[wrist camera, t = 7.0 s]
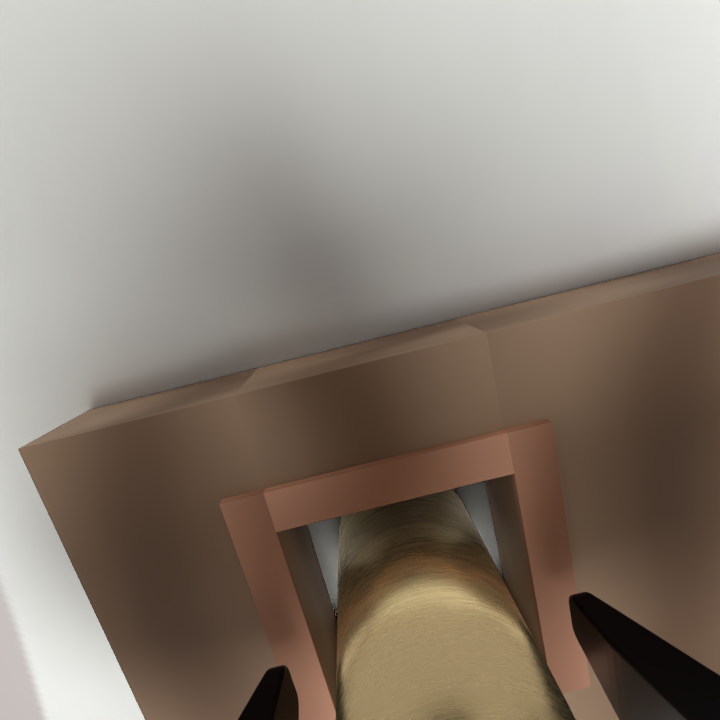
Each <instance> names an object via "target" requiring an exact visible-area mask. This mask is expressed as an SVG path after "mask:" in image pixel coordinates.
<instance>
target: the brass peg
mask: <svg viewBox="0 0 720 720" xmlns="http://www.w3.org/2000/svg"><path fill="white" fill-rule="evenodd" d="M336 720H576V719H575V717H574V715H573V713H572V711H571V709H570V707H569V705H568V703H567V701H566V699H565V698H564V696H563V694H562V692H561V690H560V688H559V686H558V684H557V682H556V680H555V678H554V676H553V675H552V673H551V671H550V669H549V667H548V665H547V663H546V661H545V659H544V657H543V655H542V653H541V652H540V650H539V648H538V646H537V644H536V642H535V640H534V638H533V636H532V634H531V632H530V630H529V629H528V627H527V625H526V623H525V621H524V619H523V617H522V615H521V613H520V611H519V609H518V608H517V606H516V604H515V602H514V600H513V598H512V596H511V594H510V592H509V590H508V588H507V586H506V585H505V583H504V581H503V579H502V577H501V575H500V573H499V571H498V569H497V567H496V565H495V563H494V562H493V560H492V558H491V556H490V554H489V552H488V550H487V548H486V546H485V544H484V542H483V540H482V539H481V537H480V535H479V533H478V531H477V529H476V527H475V525H474V523H473V521H472V519H471V517H470V516H469V514H468V512H467V510H466V508H465V506H464V504H463V502H462V501H461V499H460V498H459V496H458V495H457V494H456V493H455V491H454V490H453V489H450V490H446V491H442V492H437V493H433V494H429V495H425V496H421V497H417V498H413V499H409V500H405V501H401V502H397V503H393V504H389V505H385V506H381V507H377V508H373V509H368V510H364V511H360V512H356V513H352V514H348V515H344V516H341V520H340V524H339V541H338V607H337V672H336Z"/></svg>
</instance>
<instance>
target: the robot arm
mask: <svg viewBox="0 0 720 720" xmlns="http://www.w3.org/2000/svg"><path fill="white" fill-rule="evenodd" d="M568 601H569V608H570V615H571V621H572V627H573V631H574V633H575V636H576V638H577V640H578V642H579V644H580V646H581V648H582V650H583V652H584V654H585V655H586V657H587V659H588V661H589V663H590V665H591V667H592V669H593V671H594V673H595V675H596V676H597V678H598V680H599V682H600V684H601V686H602V688H603V690H604V692H605V694H606V696H607V697H608V699H609V701H610V703H611V705H612V707H613V709H614V711H615V713H616V714H617V716H618V718H619V720H720V675H719V674H717V673H716V672H714V671H712V670H711V669H709V668H708V667H706V666H704V665H703V664H701V663H700V662H698V661H697V660H695V659H693V658H692V657H690V656H689V655H687V654H686V653H684V652H682V651H681V650H679V649H678V648H676V647H675V646H673V645H671V644H670V643H668V642H667V641H665V640H664V639H662V638H660V637H659V636H657V635H656V634H654V633H653V632H651V631H649V630H648V629H646V628H645V627H643V626H642V625H640V624H638V623H637V622H635V621H634V620H632V619H631V618H629V617H627V616H626V615H624V614H623V613H621V612H620V611H618V610H616V609H615V608H613V607H612V606H610V605H609V604H607V603H605V602H604V601H602V600H601V599H599V598H598V597H596V596H594V595H593V594H591V593H589V592H581V593H577V594H573V595H570V596H569V600H568ZM238 720H299V701H298V695H297V691H296V688H295V685H294V683H293V680H292V677H291V674H290V671H289V669H288V667H287V666H286V665H281V666H277V667H272V668H269V669H268V670H267V671H266V672H265V674H264V675H263V677H262V679H261V680H260V682H259V684H258V686H257V687H256V689H255V691H254V692H253V694H252V696H251V698H250V699H249V701H248V703H247V704H246V706H245V708H244V709H243V711H242V713H241V715H240V716H239V718H238Z"/></svg>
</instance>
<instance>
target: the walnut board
mask: <svg viewBox="0 0 720 720" xmlns="http://www.w3.org/2000/svg"><path fill="white" fill-rule="evenodd" d="M18 450H19V452H20V454H21V456H22V458H23V461H24V463H25V465H26V467H27V469H28V471H29V473H30V475H31V478H32V480H33V482H34V484H35V486H36V488H37V490H38V492H39V495H40V497H41V499H42V501H43V503H44V505H45V507H46V509H47V512H48V514H49V516H50V518H51V520H52V522H53V524H54V526H55V529H56V531H57V533H58V535H59V537H60V539H61V541H62V543H63V546H64V548H65V550H66V552H67V554H68V556H69V558H70V560H71V563H72V565H73V567H74V569H75V571H76V573H77V575H78V578H79V580H80V582H81V584H82V586H83V588H84V590H85V592H86V595H87V597H88V599H89V601H90V603H91V605H92V607H93V609H94V612H95V614H96V616H97V618H98V620H99V622H100V624H101V626H102V629H103V631H104V633H105V635H106V637H107V639H108V641H109V643H110V646H111V648H112V650H113V652H114V654H115V656H116V658H117V660H118V663H119V665H120V667H121V669H122V671H123V673H124V675H125V677H126V680H127V682H128V684H129V686H130V688H131V690H132V692H133V694H134V697H135V699H136V701H137V703H138V705H139V707H140V709H141V712H142V714H143V716H144V718H145V720H238V718H239V716H240V715H241V713H242V711H243V709H244V708H245V706H246V704H247V703H248V701H249V699H250V698H251V696H252V694H253V692H254V691H255V689H256V687H257V686H258V684H259V682H260V680H261V679H262V677H263V675H264V674H265V672H266V671H267V670H268V669H269V668H272V667H277V666H281V665H286V666H287V667H288V669H289V671H290V674H291V677H292V680H293V683H294V685H295V688H296V691H297V695H298V701H299V720H336V672H337V621H336V618H335V615H334V611H333V608H332V605H331V602H330V599H329V595H328V592H327V589H326V586H325V582H324V579H323V576H322V573H321V570H320V566H319V563H318V560H317V557H316V553H315V550H314V547H313V544H312V541H311V537H310V534H309V531H308V528H307V525H308V524H312V523H316V522H320V521H324V520H328V519H332V518H336V517H340V516H344V515H348V514H352V513H356V512H360V511H364V510H368V509H373V508H377V507H381V506H385V505H389V504H393V503H397V502H401V501H405V500H409V499H413V498H417V497H421V496H425V495H429V494H433V493H437V492H442V491H446V490H450V489H454V488H458V487H462V486H466V485H470V484H474V483H478V482H482V481H485V482H486V487H487V492H488V498H489V503H490V508H491V513H492V518H493V524H494V529H495V534H496V539H497V544H498V550H499V555H500V560H501V565H502V570H503V576H504V581H505V585H506V586H507V588H508V590H509V592H510V594H511V596H512V598H513V600H514V602H515V604H516V606H517V608H518V609H519V611H520V613H521V615H522V617H523V619H524V621H525V623H526V625H527V627H528V629H529V630H530V632H531V634H532V636H533V638H534V640H535V642H536V644H537V646H538V648H539V650H540V652H541V653H542V655H543V657H544V659H545V661H546V663H547V665H548V667H549V669H550V671H551V673H552V675H553V676H554V678H555V680H556V682H557V684H558V686H559V688H560V690H561V692H562V694H563V696H564V698H565V699H566V701H567V703H568V705H569V707H570V709H571V711H572V713H573V715H574V717H575V719H576V720H619V718H618V716H617V714H616V713H615V711H614V709H613V707H612V705H611V703H610V701H609V699H608V697H607V696H606V694H605V692H604V690H603V688H602V686H601V684H600V682H599V680H598V678H597V676H596V675H595V673H594V671H593V669H592V667H591V665H590V663H589V661H588V659H587V657H586V655H585V654H584V652H583V650H582V648H581V646H580V644H579V642H578V640H577V638H576V636H575V633H574V631H573V627H572V621H571V615H570V608H569V601H568V600H569V596H570V595H573V594H577V593H581V592H589V593H591V594H593V595H594V596H596V597H598V598H599V599H601V600H602V601H604V602H605V603H607V604H609V605H610V606H612V607H613V608H615V609H616V610H618V611H620V612H621V613H623V614H624V615H626V616H627V617H629V618H631V619H632V620H634V621H635V622H637V623H638V624H640V625H642V626H643V627H645V628H646V629H648V630H649V631H651V632H653V633H654V634H656V635H657V636H659V637H660V638H662V639H664V640H665V641H667V642H668V643H670V644H671V645H673V646H675V647H676V648H678V649H679V650H681V651H682V652H684V653H686V654H687V655H689V656H690V657H692V658H693V659H695V660H697V661H698V662H700V663H701V664H703V665H704V666H706V667H708V668H709V669H711V670H712V671H714V672H716V673H717V674H719V675H720V253H717V254H713V255H709V256H705V257H701V258H697V259H693V260H689V261H685V262H681V263H677V264H673V265H669V266H665V267H661V268H657V269H653V270H649V271H645V272H641V273H637V274H633V275H629V276H625V277H621V278H617V279H613V280H609V281H605V282H601V283H597V284H593V285H589V286H585V287H581V288H577V289H573V290H569V291H565V292H561V293H557V294H553V295H549V296H545V297H541V298H537V299H533V300H529V301H525V302H521V303H517V304H513V305H509V306H505V307H501V308H497V309H493V310H489V311H485V312H481V313H477V314H473V315H469V316H464V317H460V318H456V319H452V320H448V321H444V322H440V323H436V324H432V325H428V326H424V327H420V328H416V329H412V330H408V331H404V332H400V333H396V334H392V335H388V336H384V337H380V338H376V339H372V340H368V341H364V342H360V343H356V344H352V345H348V346H344V347H340V348H336V349H332V350H328V351H324V352H320V353H316V354H312V355H308V356H304V357H300V358H296V359H292V360H288V361H284V362H280V363H276V364H272V365H268V366H264V367H260V368H256V369H252V370H248V371H244V372H240V373H236V374H232V375H228V376H224V377H220V378H216V379H212V380H208V381H204V382H200V383H196V384H192V385H188V386H184V387H180V388H176V389H172V390H168V391H164V392H160V393H156V394H152V395H148V396H144V397H140V398H136V399H131V400H127V401H123V402H119V403H115V404H111V405H107V406H103V407H99V408H95V409H91V410H89V411H87V412H85V413H83V414H81V415H79V416H78V417H76V418H74V419H72V420H70V421H69V422H67V423H65V424H63V425H61V426H60V427H58V428H56V429H54V430H52V431H50V432H49V433H47V434H45V435H43V436H41V437H40V438H38V439H36V440H34V441H32V442H31V443H29V444H27V445H25V446H23V447H21V448H20V449H18Z"/></svg>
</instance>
